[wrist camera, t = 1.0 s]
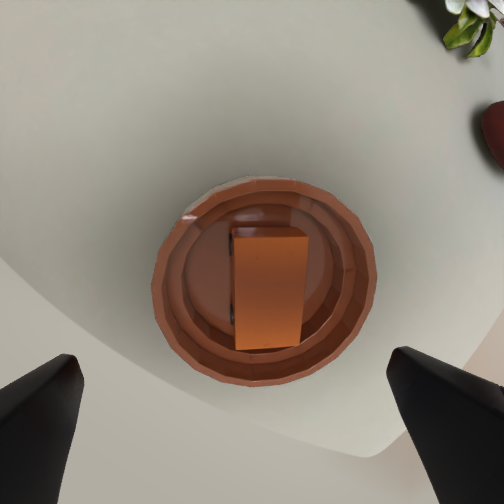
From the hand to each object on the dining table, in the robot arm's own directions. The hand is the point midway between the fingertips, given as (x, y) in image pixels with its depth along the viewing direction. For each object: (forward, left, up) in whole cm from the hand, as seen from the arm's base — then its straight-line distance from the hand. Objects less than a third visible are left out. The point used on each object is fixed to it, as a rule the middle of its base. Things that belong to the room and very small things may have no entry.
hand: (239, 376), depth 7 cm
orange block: (-2, -2, -12) cm, 12 cm away
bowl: (-2, -2, -13) cm, 13 cm away
